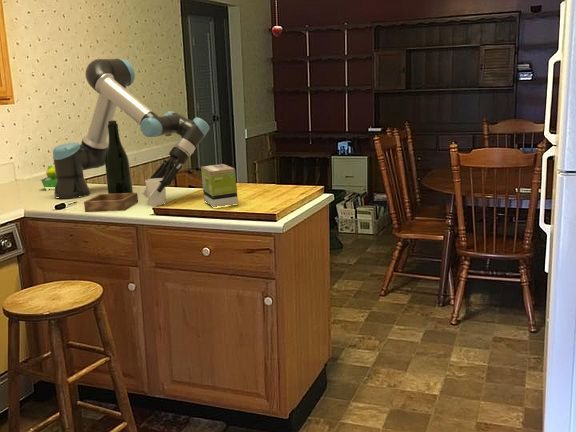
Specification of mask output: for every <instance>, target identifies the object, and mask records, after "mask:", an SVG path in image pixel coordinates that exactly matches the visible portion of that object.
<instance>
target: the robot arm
mask: <svg viewBox="0 0 576 432" xmlns="http://www.w3.org/2000/svg"><path fill="white" fill-rule="evenodd" d="M135 77H136V74H135V70H134V67H133V65H132V64H131V62H129V61H128V60H126V59H124V58H123V59H122V58H104V59H103V58H97V59H94V60H92V61H91V62H89V63H88V65H87V66H86V69H85V79H86V81H87V83H88V85H89V86H90V87H91V88H92V90H93V91H95V92H96V93H97V94H98V96H97V100H96V104H95V107H94V111H93V115H92V118H91V121H90V125H89V128H88V132H87V134H86V135H84V136H83V137H82V140H81V143H79V142H76V141H75V142H68V143H62V144H59V145H57V146H55V147H53V149H52V154H53V155H52V158H53V164H54V167H55V172H56V179H57V182H56V187H55V190H54V198H55V197H59V198H71V199H74V198H73V197H79V196H84V195H87V196H89V195H90V194H91V191H90V188H89V185H88V184H87V181H86V179H85V176H84V171H87V170H91V169H98V168H101V167H103V166H105V158H106V153H107V149H108V144H109V142H108V140H107V138H108V137H109V133H108V127H107V126H108V121H114V119H113V118H114V116H115V113H116V110H117V107H118V108H119V109H120V110H121V111H122V112H124V114H126V115H127V116H129V117H130V118H131V120H134V121H135V122H136V123H137V124H138V125H139V126H140V131H141V132H142V135H144V136H145V137H147V138H157V137H160V136H162V137H163V136H167V135H173V134H177V135H179V136H180V138H179V139H178V140H177V142H176V143H175V144H174V146H173V147H172V148H171V150H170V151H169V153H168V154H169V156H170V158H169V159H167V160H166V159H164V160H163V161H162V162H161V165H159V167H157V169H156V170H155V172H153V174H152V175H151V177H150V178H149V179H153V178H163V179H162V181H159V182H160V183H159V184H158V185H157V187H156V188H155V189H154V191H153V192H152V193H151V195H150V197H151V198H153V199H154V200H156V199H157V197H158V196H159V195H160V193H161V192H162V191H163V189H164V188H166V187H170V185H171V184H172V182H173V180H174V179H176V176H177V174H178V173H179V171H180V170H181V169H182V168H183V165H185V164H186V162H187V161H188V160H189V159H190V158H189V157H191V155H192V154H194V153H195V150H196V149H197V147H198V146H199V144H200V143H201V142H202V141H203V140H204V138H205V137H206V135H207V134H208V132H209V131H210V126H209V124H208V123H207V122H206V121H205V120H204V119H203V118H200V117H194V118H193V119H192V120H191V119H189V118H187V117H185V116H183V115H181V114H179V113H178V112H175V111H172V110H169V111H167V112H166V113H164V114H163V115H162V116H159V115H158V114H156V113H155V112H154V111H152V109H151V108H149V106H146V104H144V103H143V102H142V101H141V100H139V98H137V97H136V96H135V95H133V94H132V93H131V92H130V91H128V89H127V87H129V86H132V84H134V82H135ZM88 194H89V195H88ZM141 194H142V195H143V196H144V197H145V198H147V199H148V197H147V192H146V187H145V188H144V189H143V191H142V192H141ZM84 197H85V196H84ZM79 198H80V197H79Z"/></svg>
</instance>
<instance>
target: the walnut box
mask: <svg viewBox="0 0 576 432" xmlns="http://www.w3.org/2000/svg"><path fill="white" fill-rule="evenodd" d="M138 203H139V195H138V192H133V193H118V194H108V193H101V194H100V193H99V194H97V195H96V196H93V197H91V198H89V199H88V200H85V201H84V202H83V204H84V205H83V206H84V212H85V213H92V212H93V213H96V212H119V211H120V212H121V211H126V210H128V209H130V208H132V207H133V206H134V205H136V204H138Z"/></svg>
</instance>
